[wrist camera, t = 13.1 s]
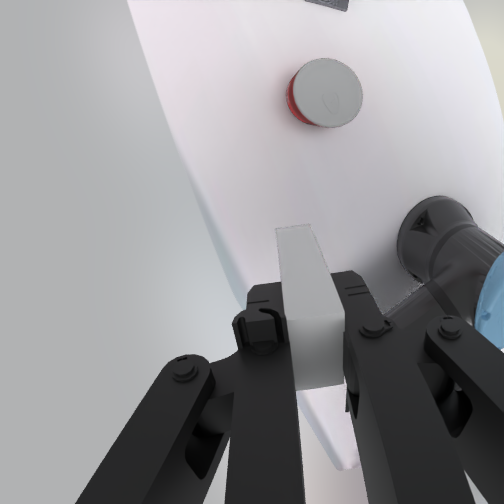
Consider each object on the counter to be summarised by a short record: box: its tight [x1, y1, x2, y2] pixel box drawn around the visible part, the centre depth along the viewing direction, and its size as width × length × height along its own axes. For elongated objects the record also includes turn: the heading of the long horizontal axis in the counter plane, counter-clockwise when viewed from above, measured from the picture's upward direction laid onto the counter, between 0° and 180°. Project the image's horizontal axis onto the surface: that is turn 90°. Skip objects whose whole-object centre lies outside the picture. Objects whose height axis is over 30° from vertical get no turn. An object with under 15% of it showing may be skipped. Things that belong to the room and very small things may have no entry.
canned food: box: [286, 58, 363, 128], centre depth 35 cm, size 8×8×11 cm
